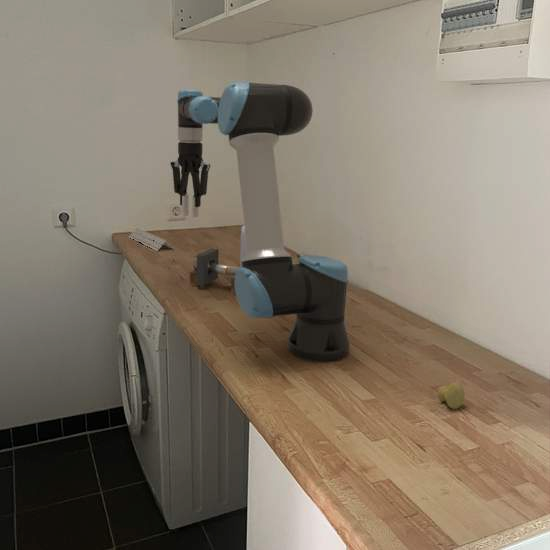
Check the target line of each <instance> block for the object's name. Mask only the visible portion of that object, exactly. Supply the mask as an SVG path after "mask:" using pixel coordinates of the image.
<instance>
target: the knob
mask: <svg viewBox="0 0 550 550" xmlns="http://www.w3.org/2000/svg"><path fill="white" fill-rule="evenodd" d="M437 399H438V400H439V401H440V402H442V403H444V402H446V404H447V405H448V407H449V408H450V409H454V410H457V409H459V408H460V407H461V406H462V405H463V403H464V400H465V390H464V388H463V386H462V385H461V384H460V383H458V382H452V383H451V384H449V385H448V386H446V385H441V386H440V387H439V388H438V391H437Z"/></svg>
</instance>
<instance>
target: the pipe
mask: <svg viewBox="0 0 550 550" xmlns="http://www.w3.org/2000/svg"><path fill="white" fill-rule="evenodd" d="M192 264H193V265H192V266H193V267H192V268H193V270H197V260H195V261H193V263H192ZM240 268H242V267H240V266H237V265H236V266H234V265H230V264H223V263H222V264H221V263H218V264H216V263H209V262H208V272H214V273H218V274H221V275H227V276H233V277H235V273H236V271H237V270H238V269H240Z"/></svg>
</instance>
